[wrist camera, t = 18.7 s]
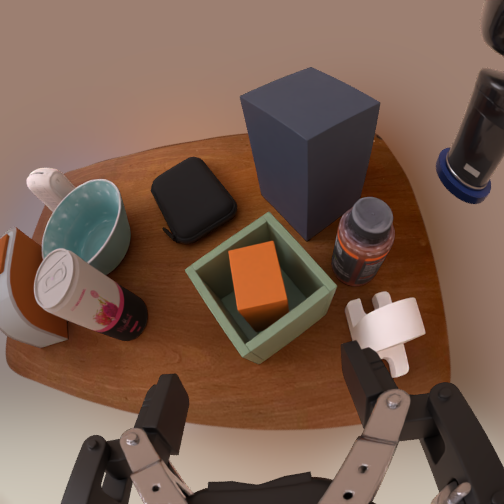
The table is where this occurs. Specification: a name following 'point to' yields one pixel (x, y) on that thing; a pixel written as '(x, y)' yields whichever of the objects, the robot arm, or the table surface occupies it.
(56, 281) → the beverage can
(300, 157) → the stand
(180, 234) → the carrying case
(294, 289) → the open box
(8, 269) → the orange grey trash bin
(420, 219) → the table surface
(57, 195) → the photo printer
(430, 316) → the table surface
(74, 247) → the bowl
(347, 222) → the supplement bottle
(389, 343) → the cable organizer
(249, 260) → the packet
